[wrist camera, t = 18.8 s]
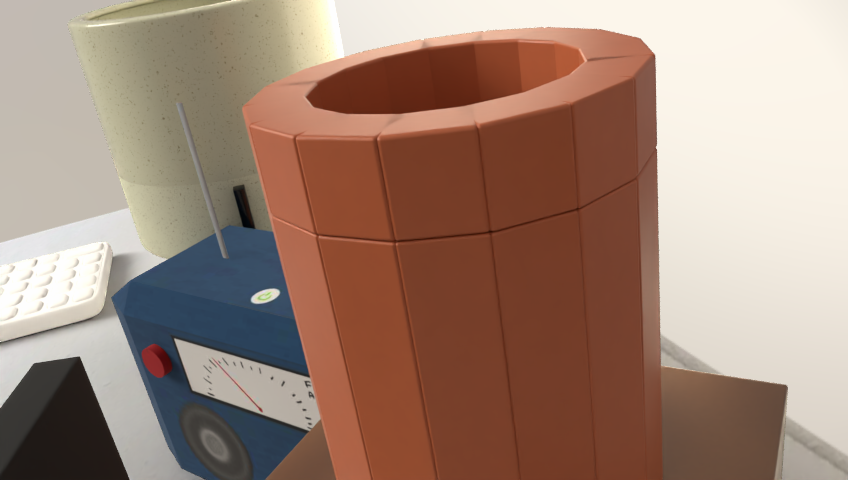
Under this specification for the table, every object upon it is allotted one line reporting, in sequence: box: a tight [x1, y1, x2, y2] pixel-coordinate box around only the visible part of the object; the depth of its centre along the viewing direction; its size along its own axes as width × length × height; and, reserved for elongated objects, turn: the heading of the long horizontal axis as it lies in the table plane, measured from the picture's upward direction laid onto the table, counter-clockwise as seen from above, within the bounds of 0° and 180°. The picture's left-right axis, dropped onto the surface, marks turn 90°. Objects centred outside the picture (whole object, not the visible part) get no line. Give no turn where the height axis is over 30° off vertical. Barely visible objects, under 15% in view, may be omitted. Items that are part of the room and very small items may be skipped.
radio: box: [111, 102, 321, 480], centre depth 34 cm, size 21×9×20 cm, turn 56°
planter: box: [68, 0, 344, 259], centre depth 49 cm, size 15×16×23 cm
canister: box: [242, 27, 663, 480], centre depth 19 cm, size 9×9×12 cm
